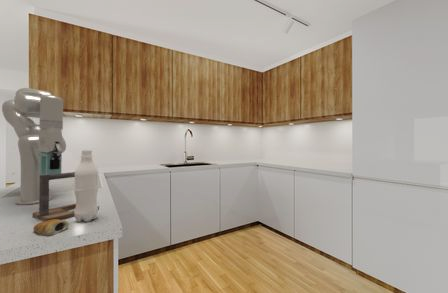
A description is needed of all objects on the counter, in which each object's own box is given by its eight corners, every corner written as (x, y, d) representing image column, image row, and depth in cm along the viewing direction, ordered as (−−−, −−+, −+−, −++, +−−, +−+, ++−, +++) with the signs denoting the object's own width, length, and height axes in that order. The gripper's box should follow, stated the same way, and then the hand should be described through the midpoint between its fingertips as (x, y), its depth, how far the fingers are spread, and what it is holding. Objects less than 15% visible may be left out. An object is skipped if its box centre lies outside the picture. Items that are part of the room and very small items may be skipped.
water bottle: (86, 224, 70) (86, 151, 70) (68, 222, 72) (69, 150, 72) (102, 217, 78) (103, 150, 77) (86, 215, 79) (86, 150, 79)
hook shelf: (32, 216, 77) (32, 173, 77) (81, 205, 92) (81, 169, 92) (49, 223, 71) (49, 176, 71) (98, 209, 86) (99, 171, 86)
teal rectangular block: (39, 174, 86) (40, 152, 86) (54, 173, 91) (54, 152, 91) (46, 175, 84) (47, 153, 83) (61, 174, 88) (61, 153, 88)
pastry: (25, 234, 63) (25, 221, 63) (48, 226, 69) (49, 214, 69) (49, 237, 61) (50, 224, 61) (71, 228, 67) (71, 217, 67)
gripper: (30, 125, 88) (30, 167, 88) (50, 124, 80) (50, 171, 80) (52, 126, 94) (51, 166, 94) (72, 126, 86) (71, 169, 86)
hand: (50, 168), depth 87 cm, fingers closed on teal rectangular block, 5 cm apart
